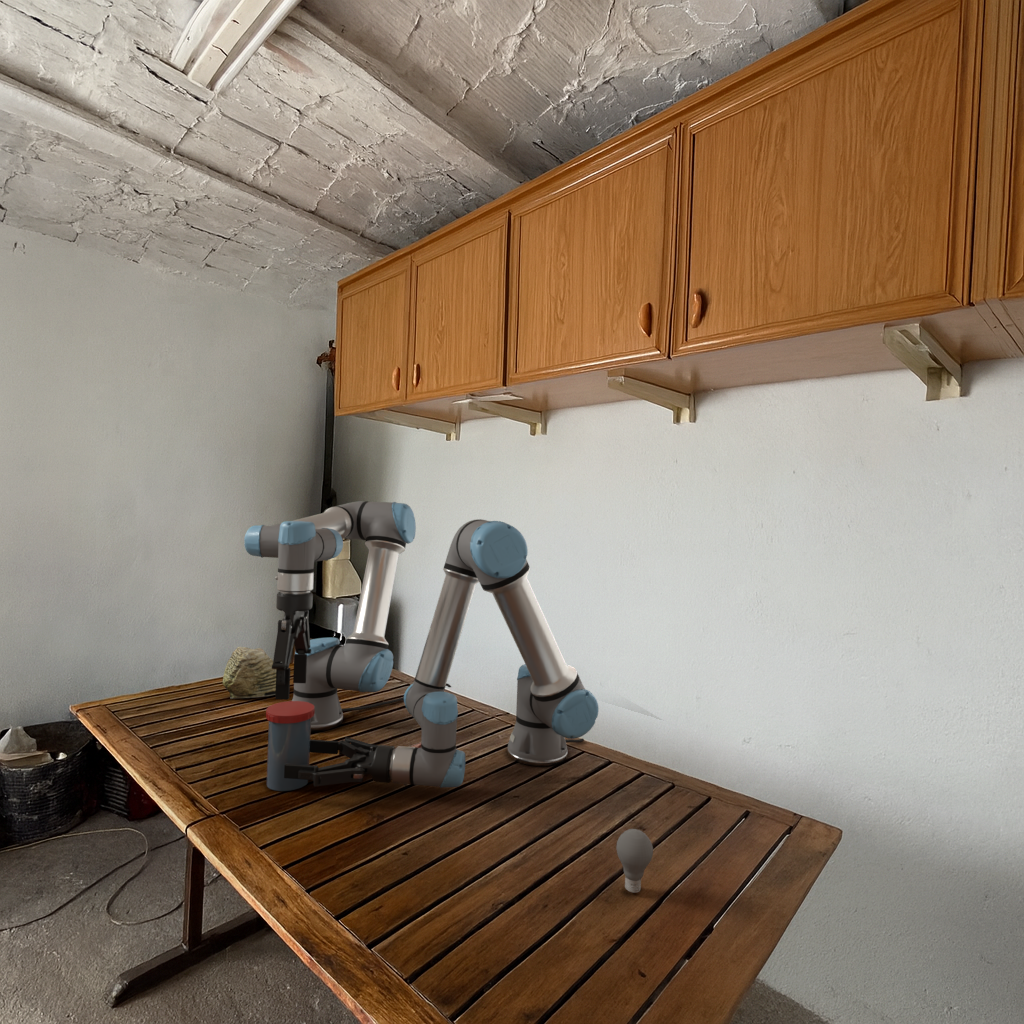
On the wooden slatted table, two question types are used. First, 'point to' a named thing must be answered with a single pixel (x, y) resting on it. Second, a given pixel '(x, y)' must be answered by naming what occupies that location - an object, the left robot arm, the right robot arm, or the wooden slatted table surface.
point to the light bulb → (634, 857)
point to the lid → (290, 712)
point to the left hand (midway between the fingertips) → (291, 690)
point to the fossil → (249, 674)
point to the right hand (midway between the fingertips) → (297, 757)
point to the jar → (287, 753)
